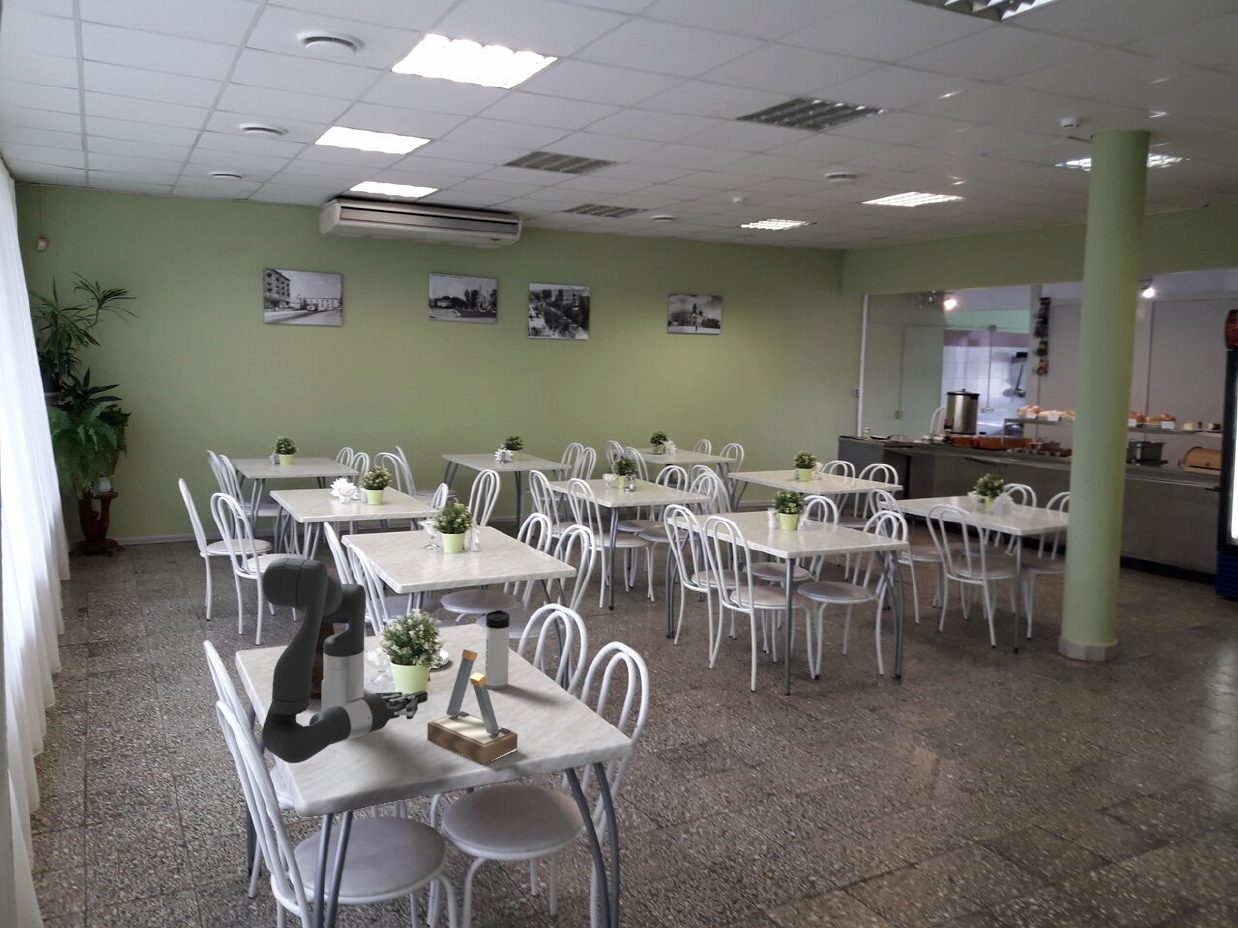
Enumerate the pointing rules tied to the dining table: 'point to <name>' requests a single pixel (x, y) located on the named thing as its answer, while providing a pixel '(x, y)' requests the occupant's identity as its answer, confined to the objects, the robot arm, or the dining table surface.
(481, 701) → the lever
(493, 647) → the travel mug
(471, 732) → the switch unit
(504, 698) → the dining table surface
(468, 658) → the lever
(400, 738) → the dining table surface
